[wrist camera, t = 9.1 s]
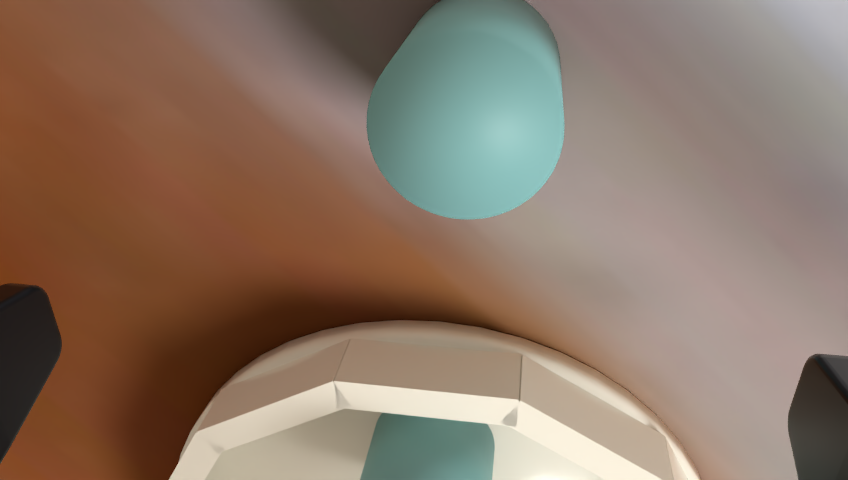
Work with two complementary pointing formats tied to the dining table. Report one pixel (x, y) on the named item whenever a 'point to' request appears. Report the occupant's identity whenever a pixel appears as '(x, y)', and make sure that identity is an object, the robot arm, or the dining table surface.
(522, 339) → the groove tray
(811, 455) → the robot arm
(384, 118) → the bead
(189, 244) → the dining table surface
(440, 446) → the bead
